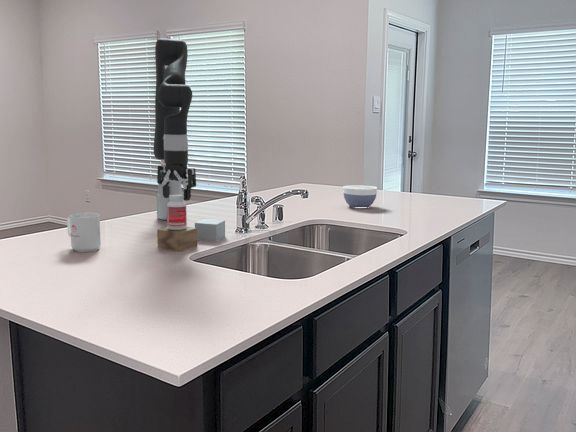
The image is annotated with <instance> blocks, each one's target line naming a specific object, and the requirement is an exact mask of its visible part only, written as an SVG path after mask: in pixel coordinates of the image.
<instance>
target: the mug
mask: <svg viewBox="0 0 576 432" xmlns="http://www.w3.org/2000/svg"><path fill="white" fill-rule="evenodd" d="M100 218H101V217H100V213H97V212H76V213H72V214H70V215H69V217H66V227H67V229H66V230H67V234H68V236H69V237H70V247H71V249H72V250H73V251H75V252H76V253H77V252H78V253H89V252H90V253H91V252H95V251H98V249H99V248H101V244H102V243H101V241H102V240H101V221H100V220H101V219H100Z"/></svg>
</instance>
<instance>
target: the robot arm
mask: <svg viewBox="0 0 576 432" xmlns="http://www.w3.org/2000/svg"><path fill="white" fill-rule="evenodd" d="M154 53H155V54H154V55H155V56H154V57H155V58H154V61H155V95H154V96H155V99H154V100H155V101H154V109H155V113H154V114H155V115H154V116H155V119H154V120H155V125H154V127H155V128H154V137H153V138H154V140H153V154H154V157H155V159H157V160H161V161H163V163H164V164H165V165H164V164H162V165H158V166H157V178H156V179H157V180H156V181H157V182H156V183H157V184H158V187H157V188H158V190H157V191H158V194H156V218H157V219H159V220H163V221H167V203H168V202H170V200H169V195H173V194H180V195H184V200H183V201H184V202H185V201H190V200H191V197H192V194H191V193H192V188H195V187H197V176H196V175H197V174H196V173H197V172H196V168H195V167H191V168H188V163H189V141H188V140H189V139H188V127H187V126H188V114H189V112H190V111H189V110H190V107H191V103H192V100H193V90H192V89H191V87H190V86H189V85H188V84H186V71H187V65H188V53H189V52H188V44H187V42H186V41H184V40H183V39H177V38H162V37H160V38H158V39H157V40H156V42H155V49H154ZM182 187H183V192H182ZM182 193H183V194H182Z"/></svg>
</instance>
